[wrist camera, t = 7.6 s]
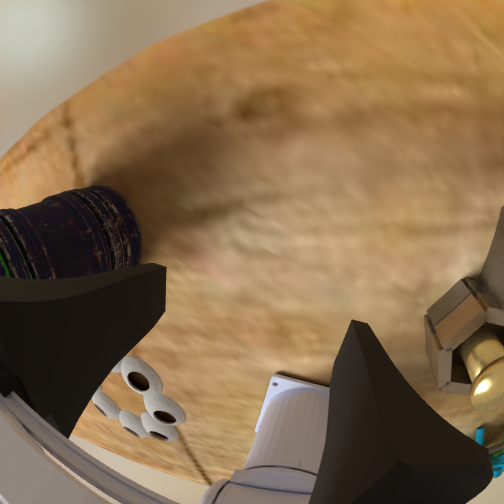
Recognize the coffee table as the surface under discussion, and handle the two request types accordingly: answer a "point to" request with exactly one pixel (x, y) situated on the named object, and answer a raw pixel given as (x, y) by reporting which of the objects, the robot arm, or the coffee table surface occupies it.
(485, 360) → the hinge pin
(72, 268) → the storage jar
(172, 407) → the ring
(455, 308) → the hinge
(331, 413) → the robot arm
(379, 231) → the coffee table surface
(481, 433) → the gear
